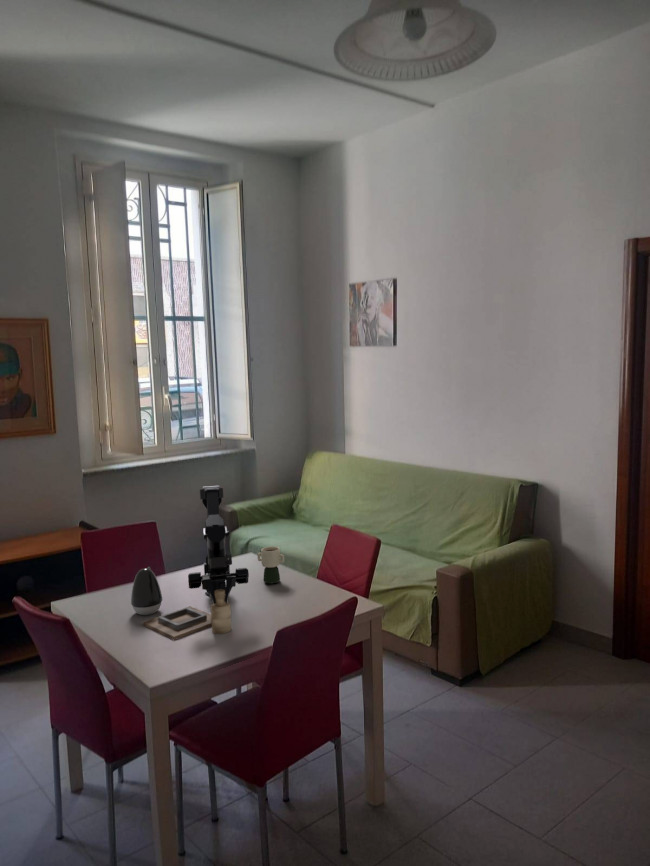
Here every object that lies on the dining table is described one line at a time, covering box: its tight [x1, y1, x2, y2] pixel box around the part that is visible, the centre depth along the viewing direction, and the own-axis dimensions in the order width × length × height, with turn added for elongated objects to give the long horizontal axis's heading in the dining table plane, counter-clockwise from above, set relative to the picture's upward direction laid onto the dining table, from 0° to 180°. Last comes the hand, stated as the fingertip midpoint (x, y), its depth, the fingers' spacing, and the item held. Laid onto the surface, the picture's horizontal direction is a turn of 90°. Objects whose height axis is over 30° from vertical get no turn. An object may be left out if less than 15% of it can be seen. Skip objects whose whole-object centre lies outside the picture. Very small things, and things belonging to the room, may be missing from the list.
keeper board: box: [142, 605, 212, 641], centre depth 212 cm, size 18×18×2 cm
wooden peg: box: [210, 589, 232, 635], centre depth 205 cm, size 6×6×12 cm
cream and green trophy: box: [257, 545, 285, 584], centre depth 249 cm, size 11×7×13 cm, turn 71°
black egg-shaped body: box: [130, 566, 163, 616], centre depth 223 cm, size 10×10×15 cm
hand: (220, 603), depth 204 cm, fingers closed on wooden peg, 3 cm apart
